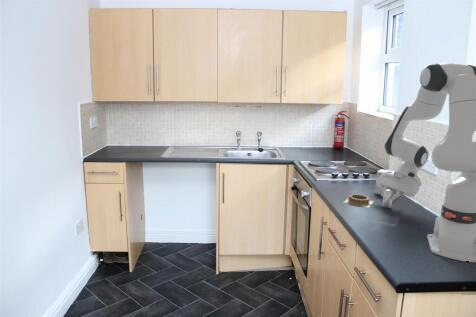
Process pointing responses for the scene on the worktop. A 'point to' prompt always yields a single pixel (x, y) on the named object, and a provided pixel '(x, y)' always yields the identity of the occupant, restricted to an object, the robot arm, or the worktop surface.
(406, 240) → the worktop surface
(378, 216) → the worktop surface
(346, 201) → the brown cake on plate
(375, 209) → the worktop surface
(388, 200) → the peg
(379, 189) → the supplement box
